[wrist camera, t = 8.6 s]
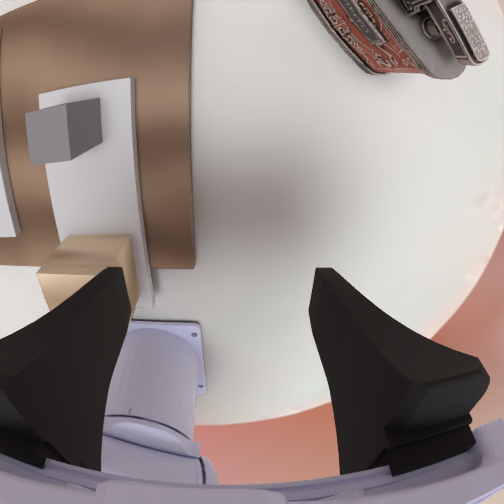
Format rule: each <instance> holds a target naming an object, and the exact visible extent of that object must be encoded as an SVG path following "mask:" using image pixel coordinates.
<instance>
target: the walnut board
mask: <svg viewBox="0 0 504 504" xmlns="http://www.w3.org/2000/svg"><path fill="white" fill-rule="evenodd" d="M192 16H193V0H37V1H35V2H32V3H30V4H27V5H25V6H22V7H20V8H17V9H15V10H13V11H11V12H8V13H6V14H4V15H2V16H0V28H1V37H0V104H1V118H2V129H3V138H4V146H5V153H6V160H7V167H8V172H9V178H10V183H11V189H12V194H13V198H14V203H15V207H16V212H17V216H18V220H19V224H20V228H21V231H22V232H21V233H20V234H19V235H18V236H16V237H0V265H13V266H42V265H43V264H44V263H45V262H46V260H47V259H48V258H49V257H50V256H51V254H52V253H53V252H54V251H55V250H56V248H57V247H58V246H59V245H60V244H61V242H60V238H59V234H58V230H57V225H56V221H55V216H54V211H53V207H52V201H51V196H50V191H49V185H48V179H47V173H46V166H45V164H40V165H33V166H31V162H30V155H29V147H28V138H27V129H26V118H25V113H28V112H32V111H36V110H40V109H39V94H43V93H47V92H51V91H55V90H60V89H65V88H69V87H74V86H80V85H85V84H91V83H96V82H103V81H109V80H116V79H124V78H135V118H136V139H137V155H138V169H139V181H140V192H141V202H142V211H143V220H144V228H145V236H146V244H147V251H148V258H149V265H150V269H194V267H195V244H194V226H193V204H192V176H191V123H190V92H191V41H192Z"/></svg>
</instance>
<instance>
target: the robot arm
mask: <svg viewBox="0 0 504 504" xmlns="http://www.w3.org/2000/svg"><path fill="white" fill-rule="evenodd" d="M131 311H132V308H131V304H130V300H129V296H128V291H127V287H126V282H125V277H124V272H123V268H122V267H107V268H105V269H104V270H102V271H101V272H100V273H99V274H97V275H96V276H95V277H93V278H92V279H91V280H90V281H89V282H87V283H86V284H85V285H84V286H82V287H81V288H80V289H79V290H78V291H76V292H75V293H74V294H73V295H71V296H70V297H69V298H67V299H66V300H65V301H63V302H62V303H61V304H59V305H58V306H57V307H56V308H54V309H53V310H51V311H50V312H48V313H47V314H45V315H44V316H42V317H41V318H39V319H38V320H36V321H34V322H33V323H31V324H29V325H27V326H26V327H24V328H22V329H20V330H18V331H16V332H14V333H13V334H11V335H8V336H6V337H4V338H2V339H0V504H479V503H480V502H482V501H484V500H486V499H487V498H489V497H491V496H492V495H494V494H495V493H497V492H498V491H500V490H501V489H502V488H504V422H503V420H502V418H498V419H495V420H493V421H491V422H489V423H486V424H484V425H482V426H480V427H478V428H476V429H475V430H473V431H471V429H470V427H469V424H471V422H472V417H471V416H470V414H469V412H470V411H471V410H472V408H473V407H474V406H475V405H476V404H477V402H478V401H479V400H480V399H481V397H482V396H483V395H484V393H485V392H486V390H487V388H488V385H489V383H490V376H489V375H488V373H487V372H486V370H485V368H484V367H483V365H482V363H481V362H480V360H479V359H478V358H477V357H474V356H471V355H468V354H465V353H462V352H459V351H455V350H453V349H450V348H448V347H445V346H443V345H441V344H438V343H436V342H434V341H432V340H430V339H428V338H426V337H424V336H422V335H420V334H418V333H416V332H414V331H413V330H411V329H409V328H407V327H406V326H404V325H403V324H401V323H400V322H398V321H396V320H395V319H393V318H392V317H390V316H389V315H388V314H386V313H385V312H383V311H382V310H381V309H380V308H378V307H377V306H376V305H374V304H373V303H372V302H371V301H369V300H368V299H367V298H366V297H365V296H363V295H362V294H361V293H360V292H359V291H358V290H356V289H355V288H354V287H353V286H352V285H351V284H350V283H349V282H348V281H346V280H345V279H344V278H343V277H342V276H341V275H340V274H339V273H337V272H336V271H335V270H334V269H333V268H316V270H315V276H314V282H313V288H312V294H311V299H310V305H309V316H310V323H311V328H312V333H313V336H314V340H315V343H316V346H317V349H318V352H319V356H320V359H321V362H322V365H323V368H324V371H325V375H326V378H327V381H328V385H329V389H330V395H331V400H332V406H333V412H334V419H335V426H336V433H337V443H338V452H339V466H340V475H339V476H333V477H326V478H320V479H313V480H304V481H295V482H283V483H269V484H250V485H249V484H247V485H219V484H218V477H217V473H216V470H215V468H214V467H213V465H212V463H211V462H210V460H209V459H208V458H207V457H204V456H200V443H198V442H195V441H193V439H194V422H195V407H196V395H204V394H206V393H207V386H206V377H205V368H204V359H203V349H202V340H201V329H200V326H199V325H198V324H197V323H181V322H151V321H131V322H130V324H129V321H130V316H131ZM128 326H129V327H128ZM193 333H197V334H193Z"/></svg>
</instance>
